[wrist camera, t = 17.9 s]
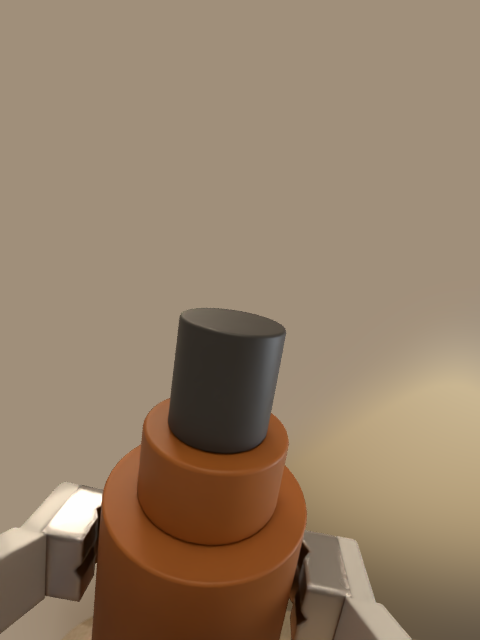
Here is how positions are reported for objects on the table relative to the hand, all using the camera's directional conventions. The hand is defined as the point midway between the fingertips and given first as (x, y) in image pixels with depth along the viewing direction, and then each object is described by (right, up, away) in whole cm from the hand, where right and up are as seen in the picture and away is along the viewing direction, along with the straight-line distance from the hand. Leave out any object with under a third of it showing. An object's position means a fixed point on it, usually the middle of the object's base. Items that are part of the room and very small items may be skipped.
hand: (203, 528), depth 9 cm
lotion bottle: (-1, -9, +1) cm, 9 cm away
